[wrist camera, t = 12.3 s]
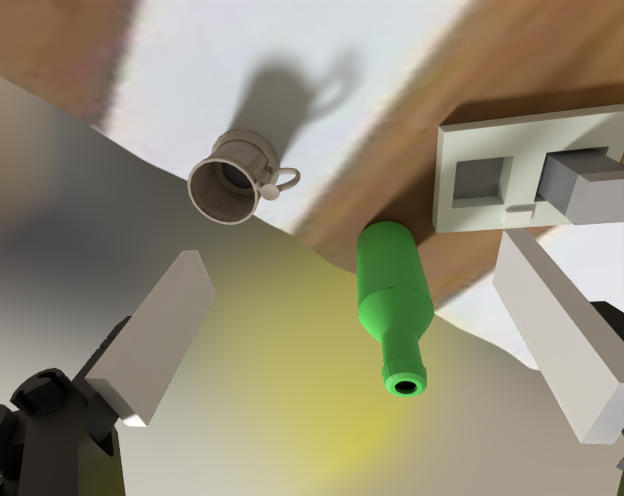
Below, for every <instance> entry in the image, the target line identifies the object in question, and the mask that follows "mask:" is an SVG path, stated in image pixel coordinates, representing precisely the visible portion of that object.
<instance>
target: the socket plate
mask: <svg viewBox="0 0 624 496" xmlns="http://www.w3.org/2000/svg"><path fill="white" fill-rule="evenodd" d="M586 148H591V149H593V150H595V151H597V152H599V153H601V154H603V155H605V156H607V157H609V158H611V159H613V160H615V161H617V162H619V163H620V161H621V158H622V156H623V153H624V104H616V105H608V106H600V107H591V108H583V109H575V110H567V111H559V112H550V113H542V114H534V115H526V116H518V117H509V118H501V119H493V120H485V121H477V122H468V123H460V124H452V125H444V126H439V128H438V142H437V157H436V171H435V186H434V200H433V215H432V224H433V226H434V229H435V231H436V233H446V232H461V231H475V230H490V229H505V228H520V227H535V226H550V225H565V224H573V223H572V222H571V221H569V220H568V219H567V218H566V217H565V216H564V215H563V214H561V213H560V212H559V211H558V210H557V209H556V208H555V207H554V206H552V205H551V204H550V203H549V202H548V201H547V200H546V199H544V198H543V197H542V196H541V195H540V194H539V193H538V192H537V187H538V183H539V179H540V175H541V172H542V168H543V164H544V160H545V156H546V153H547V152H556V151H566V150H576V149H586Z"/></svg>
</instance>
